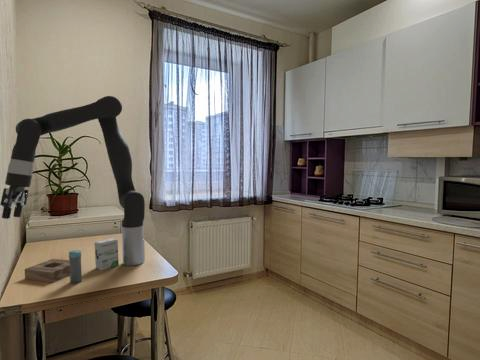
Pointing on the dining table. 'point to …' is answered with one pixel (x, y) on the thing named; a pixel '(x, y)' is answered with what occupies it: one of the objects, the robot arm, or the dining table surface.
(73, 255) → the peg
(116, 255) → the ink box
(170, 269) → the dining table surface
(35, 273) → the socket
